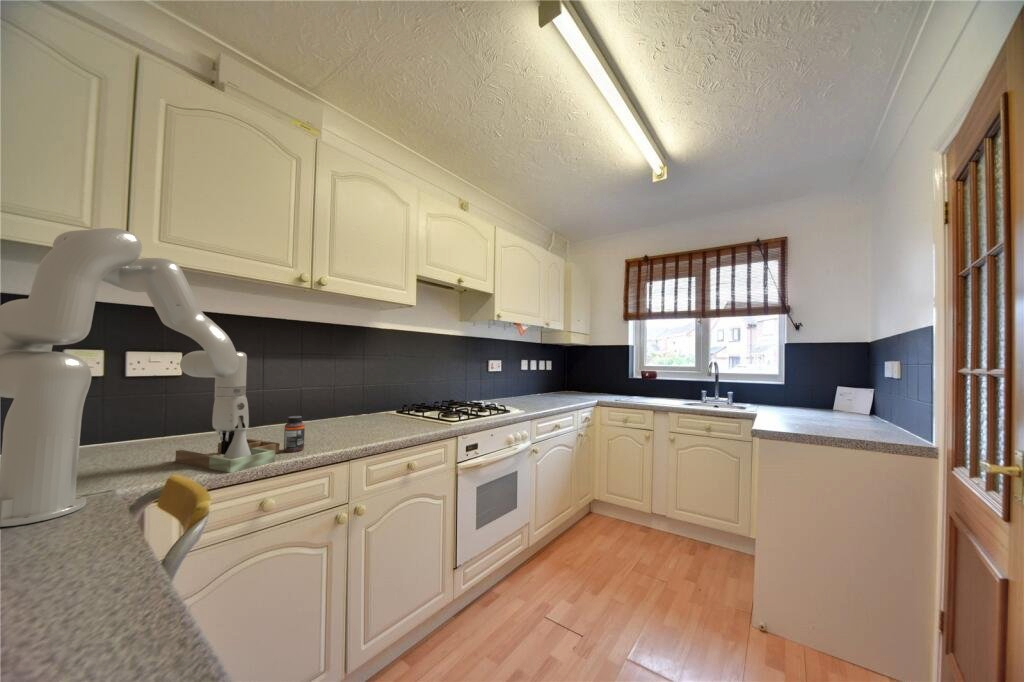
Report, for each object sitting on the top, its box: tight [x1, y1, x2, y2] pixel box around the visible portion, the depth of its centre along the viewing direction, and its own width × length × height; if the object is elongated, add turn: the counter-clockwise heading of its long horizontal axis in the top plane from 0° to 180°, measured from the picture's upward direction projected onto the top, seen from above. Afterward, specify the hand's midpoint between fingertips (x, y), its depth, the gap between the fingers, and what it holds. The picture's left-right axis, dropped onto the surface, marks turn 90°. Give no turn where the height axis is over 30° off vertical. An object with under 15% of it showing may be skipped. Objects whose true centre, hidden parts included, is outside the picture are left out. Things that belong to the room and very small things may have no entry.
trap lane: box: [174, 438, 280, 474], centre depth 113 cm, size 20×25×3 cm
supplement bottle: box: [283, 415, 306, 453], centre depth 125 cm, size 6×6×11 cm
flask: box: [223, 426, 251, 459], centre depth 110 cm, size 7×7×10 cm
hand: (228, 453), depth 111 cm, fingers closed
